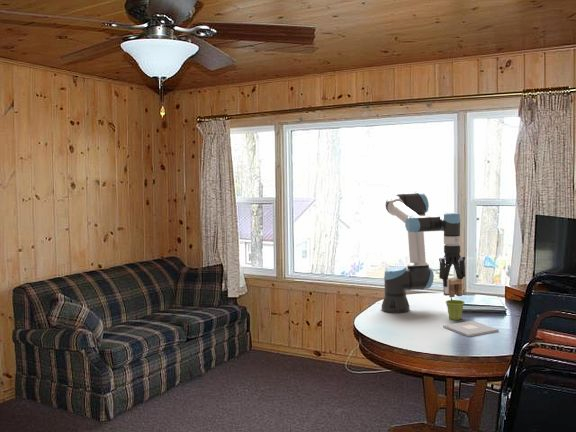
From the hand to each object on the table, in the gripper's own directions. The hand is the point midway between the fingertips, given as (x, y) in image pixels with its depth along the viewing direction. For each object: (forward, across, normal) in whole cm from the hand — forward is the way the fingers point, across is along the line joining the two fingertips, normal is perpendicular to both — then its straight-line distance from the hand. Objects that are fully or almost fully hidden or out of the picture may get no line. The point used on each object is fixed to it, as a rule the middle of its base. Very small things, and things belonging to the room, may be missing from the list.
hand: (452, 292), depth 274 cm
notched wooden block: (+1, 0, 0) cm, 1 cm away
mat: (+18, +7, -4) cm, 19 cm away
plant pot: (+18, +13, +15) cm, 26 cm away
